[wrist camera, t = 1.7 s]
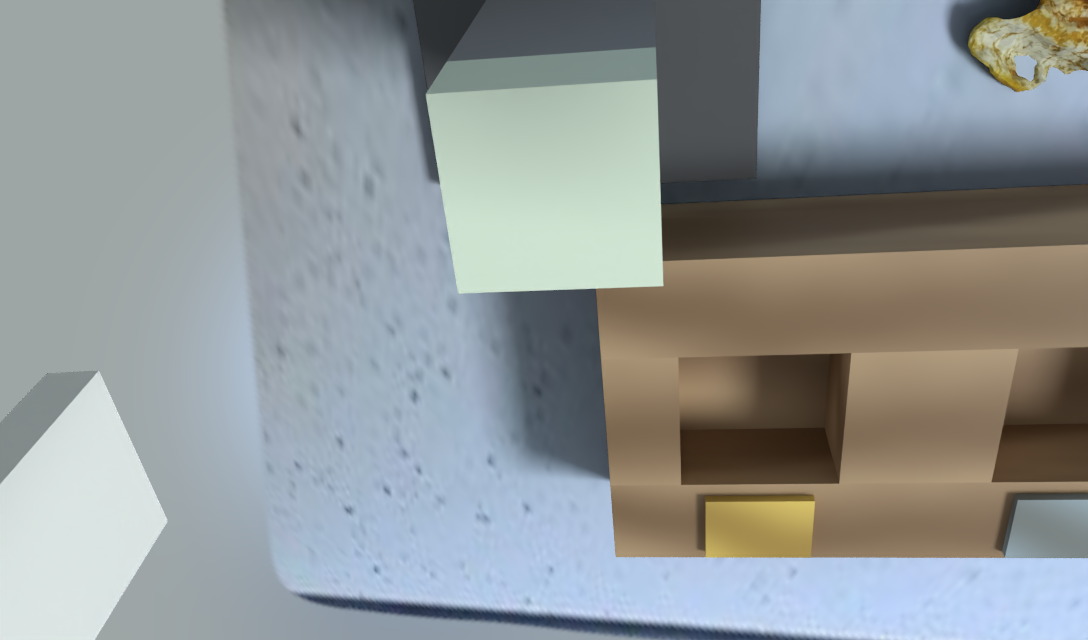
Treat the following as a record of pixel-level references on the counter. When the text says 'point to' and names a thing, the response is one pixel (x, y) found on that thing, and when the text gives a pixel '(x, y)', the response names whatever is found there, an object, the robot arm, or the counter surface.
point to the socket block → (855, 379)
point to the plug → (551, 147)
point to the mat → (667, 79)
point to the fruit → (1034, 42)
